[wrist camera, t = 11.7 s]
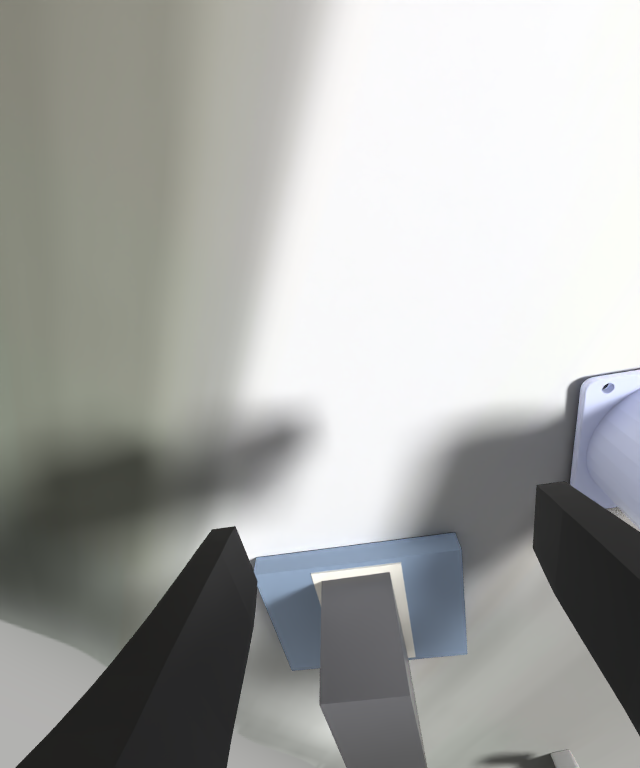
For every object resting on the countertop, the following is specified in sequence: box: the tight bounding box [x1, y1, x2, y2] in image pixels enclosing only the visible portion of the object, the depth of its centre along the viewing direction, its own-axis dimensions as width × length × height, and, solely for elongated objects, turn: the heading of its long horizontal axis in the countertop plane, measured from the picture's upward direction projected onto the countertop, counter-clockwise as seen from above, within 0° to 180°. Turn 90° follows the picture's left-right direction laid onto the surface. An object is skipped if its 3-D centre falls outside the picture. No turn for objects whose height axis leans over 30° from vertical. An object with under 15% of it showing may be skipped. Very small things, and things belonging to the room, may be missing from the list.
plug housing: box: [320, 572, 427, 768], centre depth 21 cm, size 4×8×6 cm, turn 13°
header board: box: [254, 533, 467, 671], centre depth 23 cm, size 12×10×4 cm
